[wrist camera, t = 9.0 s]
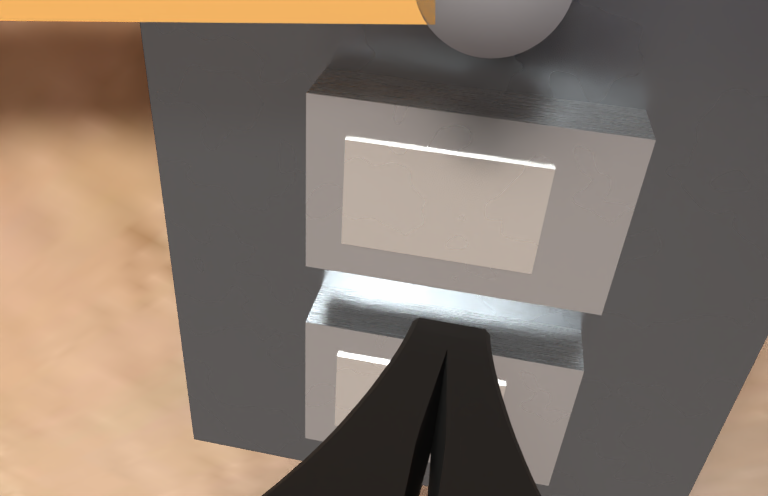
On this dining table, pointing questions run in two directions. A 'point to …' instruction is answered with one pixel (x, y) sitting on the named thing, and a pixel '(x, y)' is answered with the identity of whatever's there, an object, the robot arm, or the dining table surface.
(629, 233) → the dark grey panel board
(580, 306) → the block
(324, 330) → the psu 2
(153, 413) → the dining table surface
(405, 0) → the orange wooden bar
